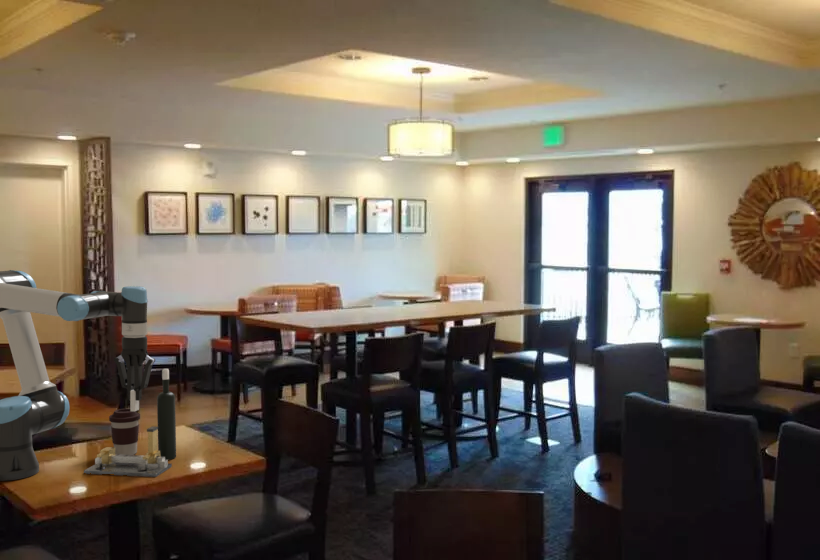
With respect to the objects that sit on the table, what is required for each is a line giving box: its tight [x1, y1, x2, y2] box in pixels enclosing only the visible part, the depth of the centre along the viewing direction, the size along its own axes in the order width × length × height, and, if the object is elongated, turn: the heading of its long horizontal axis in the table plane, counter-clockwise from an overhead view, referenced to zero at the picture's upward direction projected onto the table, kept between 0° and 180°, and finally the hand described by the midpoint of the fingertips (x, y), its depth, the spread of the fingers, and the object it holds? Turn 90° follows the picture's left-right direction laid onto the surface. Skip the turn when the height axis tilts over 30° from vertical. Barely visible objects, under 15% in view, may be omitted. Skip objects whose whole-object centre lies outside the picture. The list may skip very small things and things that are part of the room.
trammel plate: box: [83, 446, 173, 478], centre depth 255 cm, size 24×11×6 cm, turn 82°
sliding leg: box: [142, 425, 160, 469], centre depth 254 cm, size 3×8×12 cm, turn 172°
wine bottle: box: [156, 368, 177, 461], centre depth 268 cm, size 6×6×30 cm
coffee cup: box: [108, 408, 141, 455], centre depth 273 cm, size 10×10×15 cm
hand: (134, 410), depth 252 cm, fingers closed
